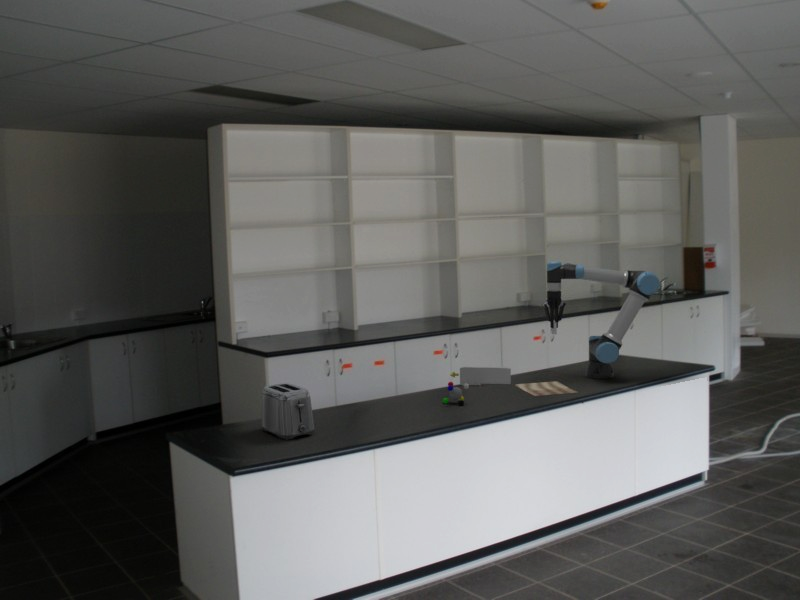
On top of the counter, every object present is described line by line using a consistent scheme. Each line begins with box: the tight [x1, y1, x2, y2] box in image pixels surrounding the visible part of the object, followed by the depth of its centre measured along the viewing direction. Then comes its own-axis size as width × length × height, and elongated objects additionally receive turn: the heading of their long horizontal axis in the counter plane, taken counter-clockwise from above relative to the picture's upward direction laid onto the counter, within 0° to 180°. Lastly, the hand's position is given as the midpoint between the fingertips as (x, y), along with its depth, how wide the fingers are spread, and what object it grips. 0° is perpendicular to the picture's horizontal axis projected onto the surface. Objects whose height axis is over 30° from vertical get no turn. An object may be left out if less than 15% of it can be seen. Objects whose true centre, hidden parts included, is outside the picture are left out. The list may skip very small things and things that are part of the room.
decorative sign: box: [449, 365, 512, 387], centre depth 410 cm, size 32×4×10 cm, turn 79°
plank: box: [514, 380, 569, 393], centre depth 397 cm, size 24×14×1 cm, turn 104°
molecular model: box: [442, 381, 470, 407], centre depth 369 cm, size 11×13×10 cm
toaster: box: [261, 382, 315, 441], centre depth 324 cm, size 17×30×19 cm, turn 35°
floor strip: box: [527, 387, 579, 397], centre depth 385 cm, size 24×10×1 cm, turn 104°
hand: (554, 333), depth 412 cm, fingers closed
